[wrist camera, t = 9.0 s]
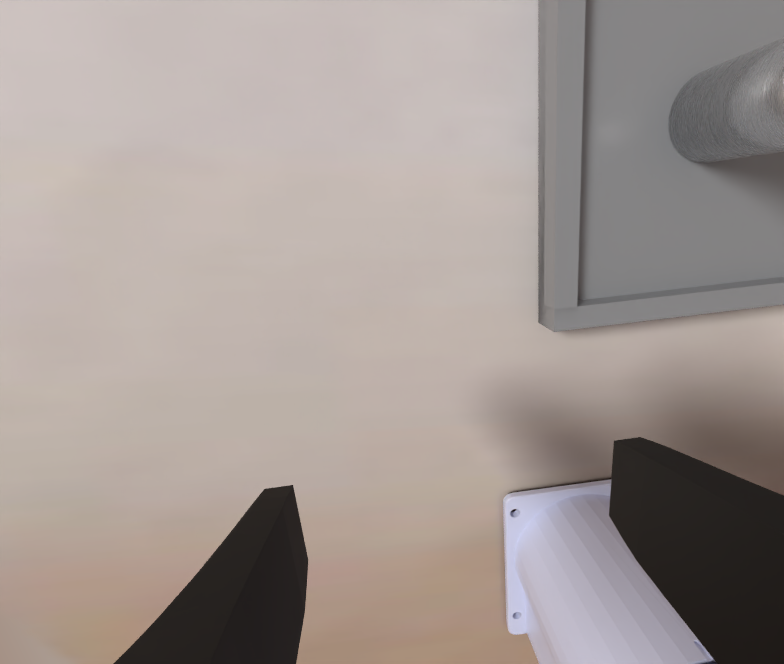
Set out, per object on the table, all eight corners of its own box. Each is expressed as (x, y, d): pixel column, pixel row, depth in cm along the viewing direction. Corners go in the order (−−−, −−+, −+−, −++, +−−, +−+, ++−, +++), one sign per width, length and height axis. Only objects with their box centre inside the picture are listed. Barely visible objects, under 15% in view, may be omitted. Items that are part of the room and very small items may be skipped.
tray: (822, 289, 20) (861, 295, 18) (538, 322, 19) (554, 331, 18) (906, -134, 15) (967, -173, 14) (538, -108, 15) (559, -145, 13)
